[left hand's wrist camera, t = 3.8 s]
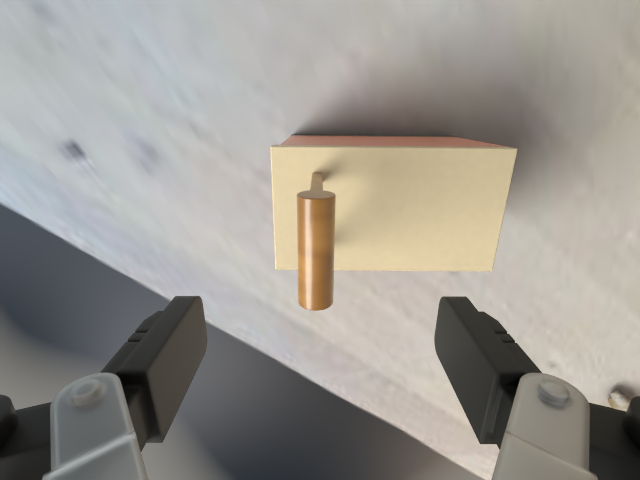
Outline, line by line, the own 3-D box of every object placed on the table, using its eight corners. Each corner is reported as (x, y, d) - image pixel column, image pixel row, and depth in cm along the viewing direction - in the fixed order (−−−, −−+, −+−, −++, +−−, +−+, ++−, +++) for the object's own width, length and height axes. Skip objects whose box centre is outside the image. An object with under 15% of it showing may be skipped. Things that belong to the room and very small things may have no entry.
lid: (277, 263, 27) (257, 335, 18) (272, 144, 23) (244, 163, 15) (486, 265, 27) (563, 337, 18) (509, 146, 24) (617, 166, 15)
